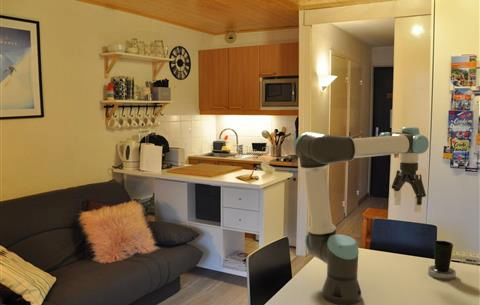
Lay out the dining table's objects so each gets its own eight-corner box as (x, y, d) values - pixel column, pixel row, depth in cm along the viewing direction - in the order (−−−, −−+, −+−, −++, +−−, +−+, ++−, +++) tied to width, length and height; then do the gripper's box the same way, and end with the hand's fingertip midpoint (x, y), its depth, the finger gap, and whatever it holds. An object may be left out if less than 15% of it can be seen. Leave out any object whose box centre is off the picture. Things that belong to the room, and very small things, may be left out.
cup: (447, 266, 193) (449, 240, 191) (454, 273, 185) (456, 246, 184) (429, 266, 193) (431, 240, 192) (435, 272, 186) (437, 245, 184)
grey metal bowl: (440, 281, 183) (440, 275, 182) (422, 272, 193) (422, 266, 193) (461, 278, 186) (461, 272, 186) (442, 269, 196) (442, 263, 196)
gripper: (436, 165, 180) (433, 214, 183) (398, 157, 204) (396, 201, 206) (421, 166, 178) (419, 215, 180) (384, 158, 202) (383, 202, 204)
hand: (407, 208), depth 193 cm, fingers open, 13 cm apart
